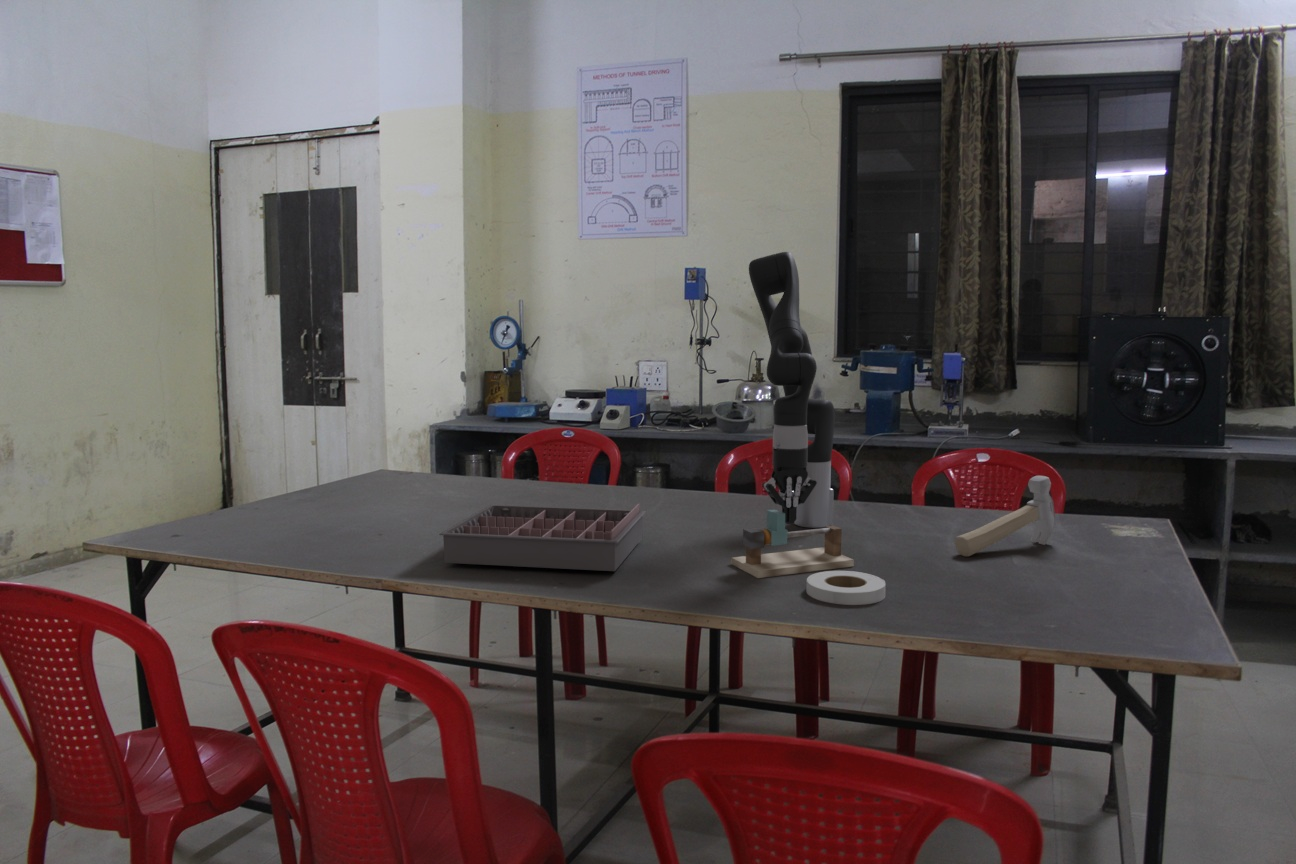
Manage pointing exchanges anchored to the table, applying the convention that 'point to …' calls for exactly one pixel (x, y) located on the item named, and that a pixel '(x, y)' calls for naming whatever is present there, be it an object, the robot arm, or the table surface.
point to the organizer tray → (545, 537)
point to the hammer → (1015, 521)
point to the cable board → (791, 554)
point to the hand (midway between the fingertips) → (788, 523)
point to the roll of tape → (846, 587)
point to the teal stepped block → (776, 527)
